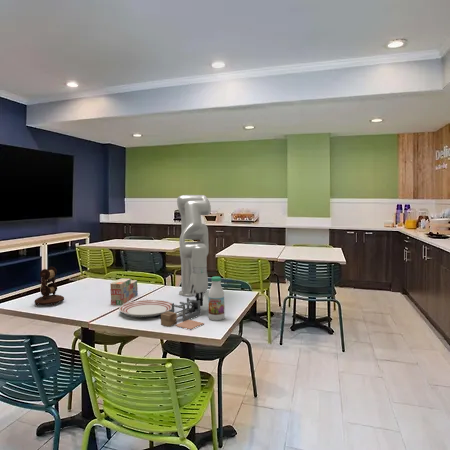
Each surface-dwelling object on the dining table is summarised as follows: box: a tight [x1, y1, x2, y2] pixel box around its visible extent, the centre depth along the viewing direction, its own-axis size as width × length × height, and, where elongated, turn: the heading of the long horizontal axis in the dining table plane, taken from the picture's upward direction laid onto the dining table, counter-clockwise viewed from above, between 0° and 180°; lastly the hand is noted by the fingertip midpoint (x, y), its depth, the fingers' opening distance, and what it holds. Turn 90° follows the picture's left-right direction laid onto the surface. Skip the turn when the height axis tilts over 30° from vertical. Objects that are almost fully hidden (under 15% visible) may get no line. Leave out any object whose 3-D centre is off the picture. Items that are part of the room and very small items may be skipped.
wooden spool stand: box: [34, 266, 65, 307], centre depth 198 cm, size 15×15×20 cm
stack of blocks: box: [109, 277, 139, 307], centre depth 205 cm, size 21×6×12 cm, turn 170°
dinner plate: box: [118, 299, 173, 318], centre depth 183 cm, size 27×27×3 cm
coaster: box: [175, 319, 205, 330], centre depth 163 cm, size 9×9×1 cm
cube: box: [160, 310, 178, 328], centre depth 165 cm, size 5×5×5 cm
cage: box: [171, 297, 201, 322], centre depth 174 cm, size 12×8×8 cm, turn 145°
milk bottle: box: [207, 276, 225, 321], centre depth 172 cm, size 8×8×20 cm
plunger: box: [176, 299, 202, 318], centre depth 174 cm, size 18×5×6 cm, turn 145°
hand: (199, 305), depth 183 cm, fingers closed
